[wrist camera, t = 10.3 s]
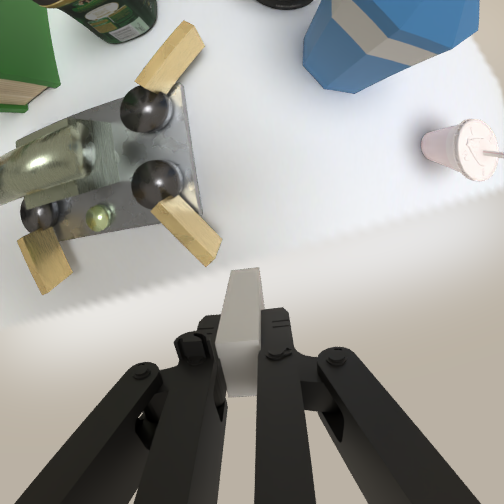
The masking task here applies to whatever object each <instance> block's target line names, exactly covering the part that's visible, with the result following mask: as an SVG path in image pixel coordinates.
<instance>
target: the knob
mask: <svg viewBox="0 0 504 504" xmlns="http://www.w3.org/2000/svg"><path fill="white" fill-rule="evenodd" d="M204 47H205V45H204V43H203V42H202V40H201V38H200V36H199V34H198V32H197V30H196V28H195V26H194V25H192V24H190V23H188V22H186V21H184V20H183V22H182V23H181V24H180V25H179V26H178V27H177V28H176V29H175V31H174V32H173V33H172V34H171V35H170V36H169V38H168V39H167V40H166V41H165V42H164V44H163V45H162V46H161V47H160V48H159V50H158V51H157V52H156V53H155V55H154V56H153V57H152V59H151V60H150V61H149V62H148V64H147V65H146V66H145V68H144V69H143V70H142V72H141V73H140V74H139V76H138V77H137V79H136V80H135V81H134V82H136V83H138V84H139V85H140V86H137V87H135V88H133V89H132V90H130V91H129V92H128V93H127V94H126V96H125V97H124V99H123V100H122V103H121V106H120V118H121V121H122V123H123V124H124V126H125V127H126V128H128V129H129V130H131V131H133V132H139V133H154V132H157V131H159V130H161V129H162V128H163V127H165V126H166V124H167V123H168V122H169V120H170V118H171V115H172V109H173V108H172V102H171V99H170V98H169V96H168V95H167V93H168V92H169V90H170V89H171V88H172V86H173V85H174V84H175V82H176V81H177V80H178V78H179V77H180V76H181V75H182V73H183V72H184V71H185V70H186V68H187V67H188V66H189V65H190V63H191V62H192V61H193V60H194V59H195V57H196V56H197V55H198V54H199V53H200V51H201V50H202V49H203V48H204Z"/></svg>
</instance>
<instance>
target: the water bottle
mask: <svg viewBox="0 0 504 504" xmlns="http://www.w3.org/2000/svg"><path fill="white" fill-rule="evenodd" d="M478 25H479V0H322V1H321V3H320V5H319V7H318V9H317V11H316V14H315V16H314V18H313V20H312V22H311V24H310V26H309V29H308V31H307V33H306V35H305V37H304V48H303V66H304V67H305V68H306V70H307V71H308V72H309V73H310V74H311V75H312V76H313V77H314V78H315V79H316V80H317V81H318V82H319V84H320V85H321V86H322V87H323V88H324V89H329V90H335V91H341V92H347V93H353V94H355V93H357V92H359V91H361V90H363V89H365V88H367V87H369V86H371V85H373V84H375V83H377V82H379V81H381V80H383V79H385V78H387V77H389V76H391V75H393V74H396V73H398V72H400V71H402V70H404V69H406V68H409V67H411V66H413V65H415V64H417V63H420V62H422V61H424V60H427V59H429V58H431V57H434V56H436V55H438V54H441V53H443V52H446V51H448V50H451V49H453V48H454V47H455V46H457V45H458V44H459V43H461V42H462V41H464V40H465V39H466V38H468V37H469V36H471V35H472V34H473V33H475V32H476V31H478Z"/></svg>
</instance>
